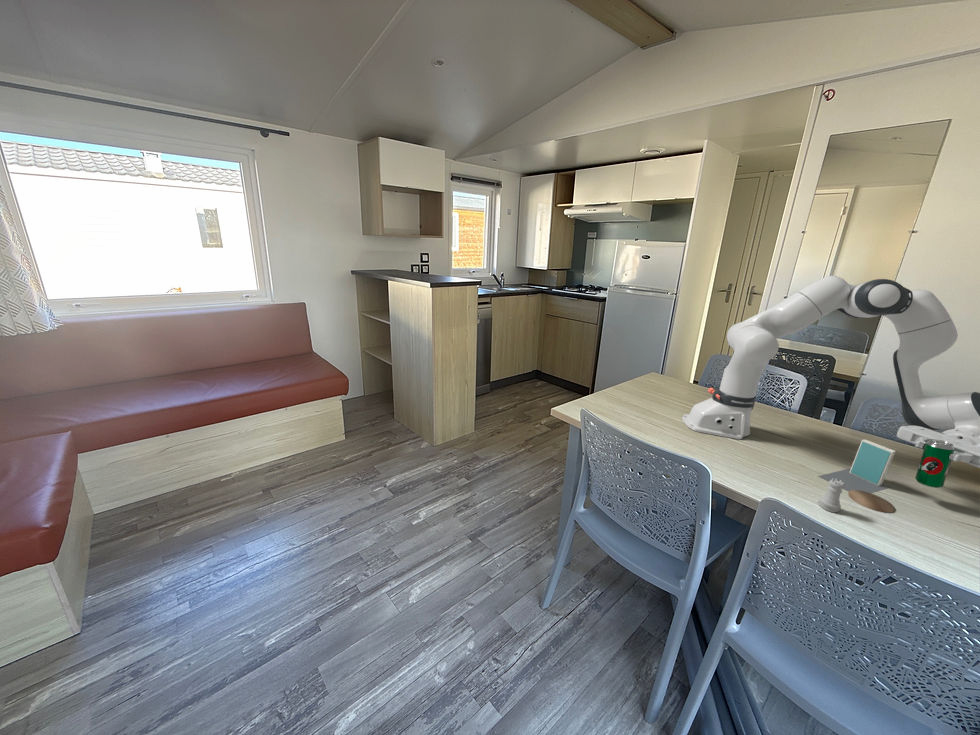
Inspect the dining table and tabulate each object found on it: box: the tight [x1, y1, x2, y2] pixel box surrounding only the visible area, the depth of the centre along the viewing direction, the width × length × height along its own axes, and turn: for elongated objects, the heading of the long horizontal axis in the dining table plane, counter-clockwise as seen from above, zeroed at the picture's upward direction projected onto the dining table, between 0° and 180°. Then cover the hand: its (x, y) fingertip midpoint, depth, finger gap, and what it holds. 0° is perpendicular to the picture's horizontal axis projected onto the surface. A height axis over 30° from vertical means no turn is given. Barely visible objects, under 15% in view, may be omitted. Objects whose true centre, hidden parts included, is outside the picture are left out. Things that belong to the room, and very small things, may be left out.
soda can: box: [914, 439, 955, 489], centre depth 101 cm, size 5×5×12 cm
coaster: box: [847, 490, 896, 514], centre depth 101 cm, size 9×9×1 cm
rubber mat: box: [817, 468, 891, 494], centre depth 110 cm, size 15×10×1 cm, turn 110°
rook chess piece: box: [817, 478, 845, 513], centre depth 98 cm, size 4×4×8 cm
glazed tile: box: [849, 439, 897, 486], centre depth 110 cm, size 2×7×11 cm, turn 20°
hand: (935, 451), depth 100 cm, fingers closed on soda can, 5 cm apart
